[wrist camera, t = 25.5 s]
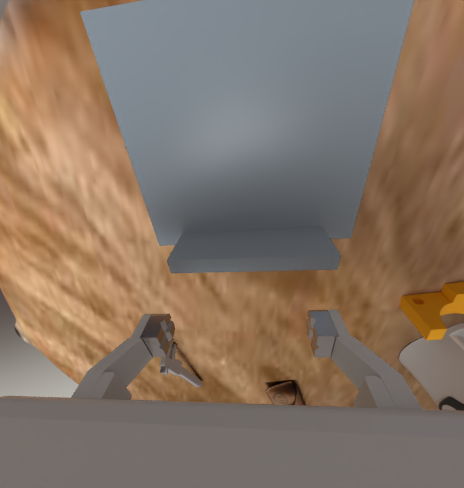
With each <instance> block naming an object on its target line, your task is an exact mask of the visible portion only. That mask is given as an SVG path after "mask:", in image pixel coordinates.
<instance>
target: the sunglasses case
mask: <svg viewBox="0 0 464 488" xmlns="http://www.w3.org/2000/svg"><path fill="white" fill-rule="evenodd" d="M266 393H267V395H268V396H269V398H270V399H271V401H272V403H273V404H275V405H304V403H303V400H302V398H301V395H300V393H299V390H298V388H297V386H296V384H295V383H293V382H292V381H288V382H283V383H280V384H277V385H274V386H272V387H270V388H268V389H266Z"/></svg>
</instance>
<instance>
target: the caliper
mask: <svg viewBox="0 0 464 488" xmlns="http://www.w3.org/2000/svg"><path fill="white" fill-rule="evenodd" d="M169 343H170V347H169V350H168V353H167V356H163V357H162V358H161V363H160V366H161V370H160V373H163V375H166V374H168V371H169V372H170V373H172V374H174V375H179V376H181V377H182V378H184V379H185V380H187V381H188V382H190V383H192V384H193V385H195V386H196V387H200V386H202V385H203V384H202V383H201V380H200V379H198V378H197V377H196V376H194V375H193V374H191V373H190V372H189V371H187V370H186V369H184V368H183V367H182V366H181V364H182V362H180V361H179V360H175V350H176V344H172V341H171V342H169Z"/></svg>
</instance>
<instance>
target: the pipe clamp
mask: <svg viewBox="0 0 464 488" xmlns="http://www.w3.org/2000/svg"><path fill="white" fill-rule="evenodd" d="M399 307H400V308H401V309H402V310H403V312H404V313H405V314H406V315H407V317H408V318H409V319H410V320H411V322H412V323H413V324H414V325H415V327H416V328H417V329H418V331H419V332H420V333H421V334H422V336H423V337H424V338H425V339H426V340H442V338H443V336H444V334H445V332H446V330H447V328H446V326H445V325H444V324H443V322H442V320H441V318H440V316H442V315H445V314H449V313H461V314H464V282H458V283H449V284H444V286H443V288H442V290H441V292H435V293H425V294H416V295H406V296H402V298H401V302H400V305H399Z"/></svg>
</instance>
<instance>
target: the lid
mask: <svg viewBox="0 0 464 488" xmlns="http://www.w3.org/2000/svg"><path fill="white" fill-rule="evenodd" d="M413 3H414V0H143V1H137V2H132V3H126V4H121V5H115V6H110V7H105V8H99V9H94V10H88V11H83V12H80V13H81V16H82V19H83V22H84V25H85V28H86V31H87V34H88V37H89V40H90V43H91V46H92V49H93V52H94V55H95V58H96V60H97V63H98V66H99V69H100V72H101V75H102V78H103V81H104V84H105V87H106V90H107V93H108V96H109V99H110V102H111V105H112V107H113V110H114V113H115V116H116V119H117V122H118V125H119V128H120V131H121V134H122V137H123V140H124V143H125V146H126V149H127V152H128V154H129V157H130V160H131V163H132V166H133V169H134V172H135V175H136V178H137V181H138V184H139V187H140V190H141V193H142V196H143V199H144V201H145V204H146V207H147V210H148V213H149V216H150V219H151V222H152V225H153V228H154V231H155V234H156V237H157V240H158V243H159V245H160V246H164V245H175V247H174V249H173V251H172V252H171V254H170V256H169V258H168V259H167V263H168V266H169V269H170V272H171V273H202V272H245V271H289V270H332V269H338V266H339V262H340V258H341V254H340V253H339V251H338V250H337V248H336V247H335V245H334V244H333V242H332V241H331V239H342V238H351V236H352V233H353V229H354V225H355V221H356V218H357V214H358V210H359V206H360V202H361V199H362V195H363V191H364V187H365V184H366V180H367V176H368V172H369V169H370V165H371V161H372V157H373V154H374V150H375V146H376V142H377V139H378V135H379V131H380V127H381V124H382V120H383V116H384V112H385V109H386V105H387V101H388V97H389V94H390V90H391V86H392V82H393V79H394V75H395V71H396V67H397V64H398V60H399V56H400V52H401V49H402V45H403V41H404V37H405V33H406V30H407V26H408V22H409V18H410V15H411V11H412V7H413Z"/></svg>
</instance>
